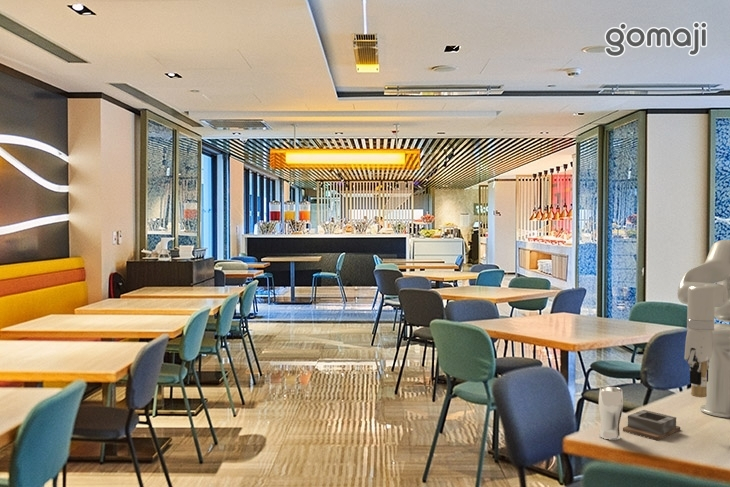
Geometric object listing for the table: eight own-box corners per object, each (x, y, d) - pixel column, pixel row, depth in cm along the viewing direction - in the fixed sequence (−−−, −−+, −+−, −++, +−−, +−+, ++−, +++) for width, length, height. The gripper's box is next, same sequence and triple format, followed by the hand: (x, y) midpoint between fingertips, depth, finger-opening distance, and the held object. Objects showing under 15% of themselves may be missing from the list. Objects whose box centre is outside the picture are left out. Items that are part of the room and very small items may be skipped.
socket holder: (646, 421, 210) (647, 408, 210) (680, 429, 202) (680, 416, 201) (622, 430, 200) (623, 416, 200) (657, 440, 191) (657, 425, 191)
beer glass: (623, 441, 189) (625, 392, 189) (599, 439, 191) (601, 391, 190) (619, 434, 196) (620, 386, 196) (596, 432, 198) (597, 385, 197)
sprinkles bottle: (708, 398, 194) (709, 355, 193) (692, 397, 195) (693, 354, 195) (705, 394, 198) (706, 352, 198) (689, 393, 200) (690, 351, 199)
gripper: (699, 320, 204) (697, 375, 205) (676, 326, 193) (674, 384, 194) (724, 323, 198) (722, 380, 199) (701, 329, 188) (700, 390, 188)
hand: (699, 381), depth 197 cm, fingers closed on sprinkles bottle, 4 cm apart
